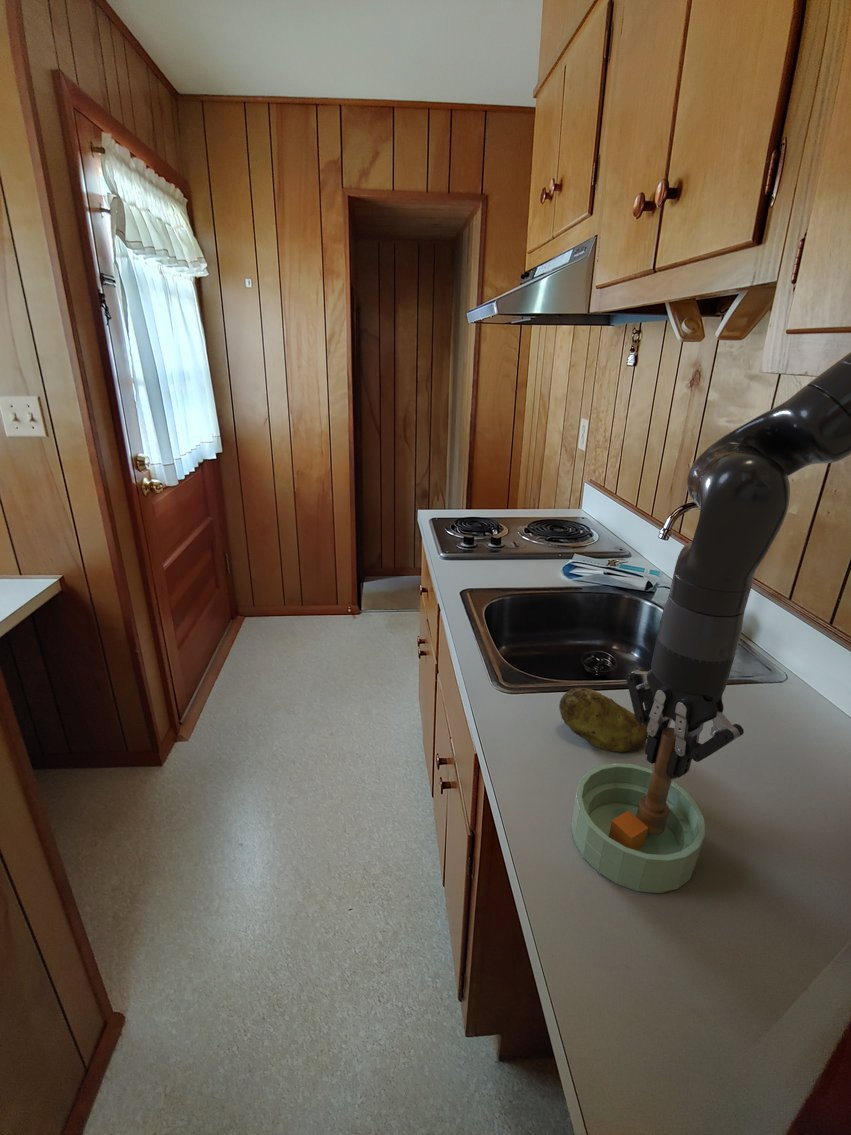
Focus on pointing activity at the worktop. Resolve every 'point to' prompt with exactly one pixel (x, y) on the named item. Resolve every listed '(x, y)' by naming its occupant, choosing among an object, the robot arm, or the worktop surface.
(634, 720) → the potato
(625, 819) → the carrot cube
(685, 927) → the worktop surface
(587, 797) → the bowl
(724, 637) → the robot arm
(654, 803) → the wooden flanged peg
